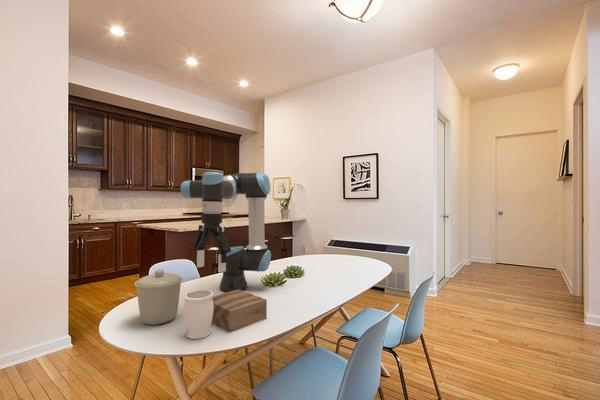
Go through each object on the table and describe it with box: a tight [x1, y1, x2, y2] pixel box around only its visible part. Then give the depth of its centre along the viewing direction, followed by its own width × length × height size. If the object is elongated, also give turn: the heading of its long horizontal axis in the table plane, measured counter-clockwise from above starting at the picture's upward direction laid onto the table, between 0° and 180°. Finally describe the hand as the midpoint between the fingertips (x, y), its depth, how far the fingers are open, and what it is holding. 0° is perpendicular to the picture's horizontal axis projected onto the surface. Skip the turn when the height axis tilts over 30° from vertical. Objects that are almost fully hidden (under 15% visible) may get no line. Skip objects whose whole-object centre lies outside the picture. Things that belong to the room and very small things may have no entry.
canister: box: [134, 268, 184, 326], centre depth 123 cm, size 18×18×21 cm
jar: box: [183, 290, 215, 340], centre depth 110 cm, size 11×10×15 cm
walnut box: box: [212, 290, 268, 333], centre depth 125 cm, size 20×18×8 cm
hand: (210, 269), depth 112 cm, fingers open, 13 cm apart
